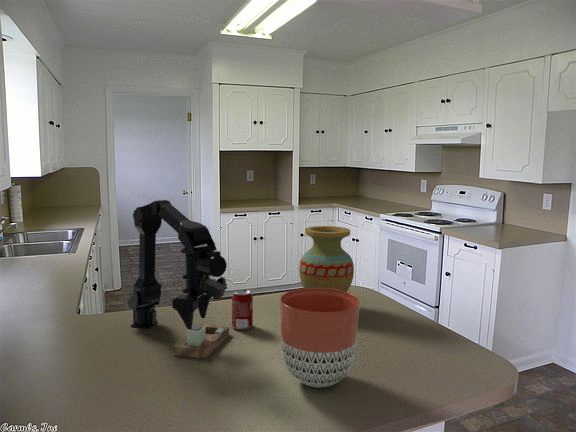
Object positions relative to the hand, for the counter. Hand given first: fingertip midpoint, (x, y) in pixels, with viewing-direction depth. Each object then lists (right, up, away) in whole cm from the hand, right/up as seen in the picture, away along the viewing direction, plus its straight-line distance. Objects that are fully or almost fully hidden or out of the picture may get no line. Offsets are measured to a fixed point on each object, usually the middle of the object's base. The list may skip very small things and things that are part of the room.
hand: (196, 323), depth 132 cm
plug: (0, -8, +1) cm, 8 cm away
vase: (+40, -4, +37) cm, 55 cm away
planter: (+34, -11, -16) cm, 39 cm away
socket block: (+1, -7, +6) cm, 9 cm away
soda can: (+11, -6, +20) cm, 23 cm away
